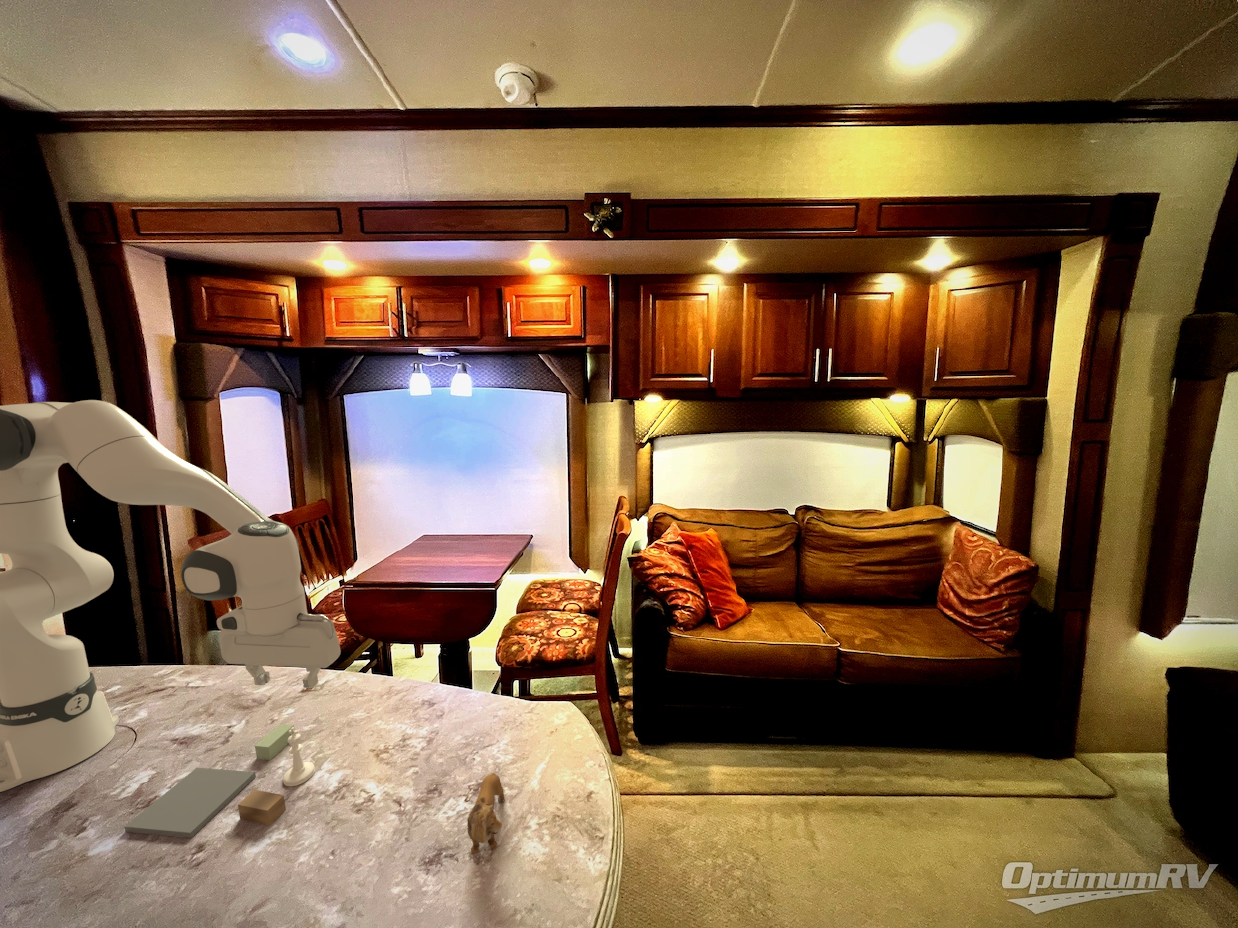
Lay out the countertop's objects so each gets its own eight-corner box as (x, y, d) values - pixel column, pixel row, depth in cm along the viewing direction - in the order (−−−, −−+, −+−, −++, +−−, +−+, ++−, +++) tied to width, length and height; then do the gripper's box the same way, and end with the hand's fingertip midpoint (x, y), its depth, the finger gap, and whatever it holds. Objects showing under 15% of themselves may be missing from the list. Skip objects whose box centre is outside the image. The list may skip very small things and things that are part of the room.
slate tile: (125, 831, 76) (124, 826, 76) (197, 771, 88) (196, 767, 88) (191, 837, 75) (190, 832, 75) (255, 776, 87) (255, 771, 87)
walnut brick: (240, 819, 78) (237, 804, 78) (257, 804, 81) (254, 789, 81) (269, 826, 77) (267, 810, 77) (286, 810, 80) (283, 794, 80)
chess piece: (299, 788, 84) (292, 739, 82) (276, 784, 85) (269, 735, 83) (321, 766, 89) (315, 720, 87) (299, 762, 90) (293, 716, 88)
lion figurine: (504, 868, 70) (501, 817, 68) (467, 877, 69) (463, 825, 67) (505, 787, 84) (502, 743, 82) (474, 793, 83) (471, 748, 81)
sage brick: (270, 760, 91) (268, 747, 90) (256, 759, 91) (254, 745, 91) (295, 737, 97) (293, 725, 96) (282, 736, 97) (280, 723, 97)
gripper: (343, 606, 84) (352, 676, 86) (240, 603, 86) (251, 671, 88) (318, 624, 77) (328, 698, 80) (207, 620, 79) (219, 693, 82)
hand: (286, 684), depth 84 cm, fingers open, 8 cm apart
